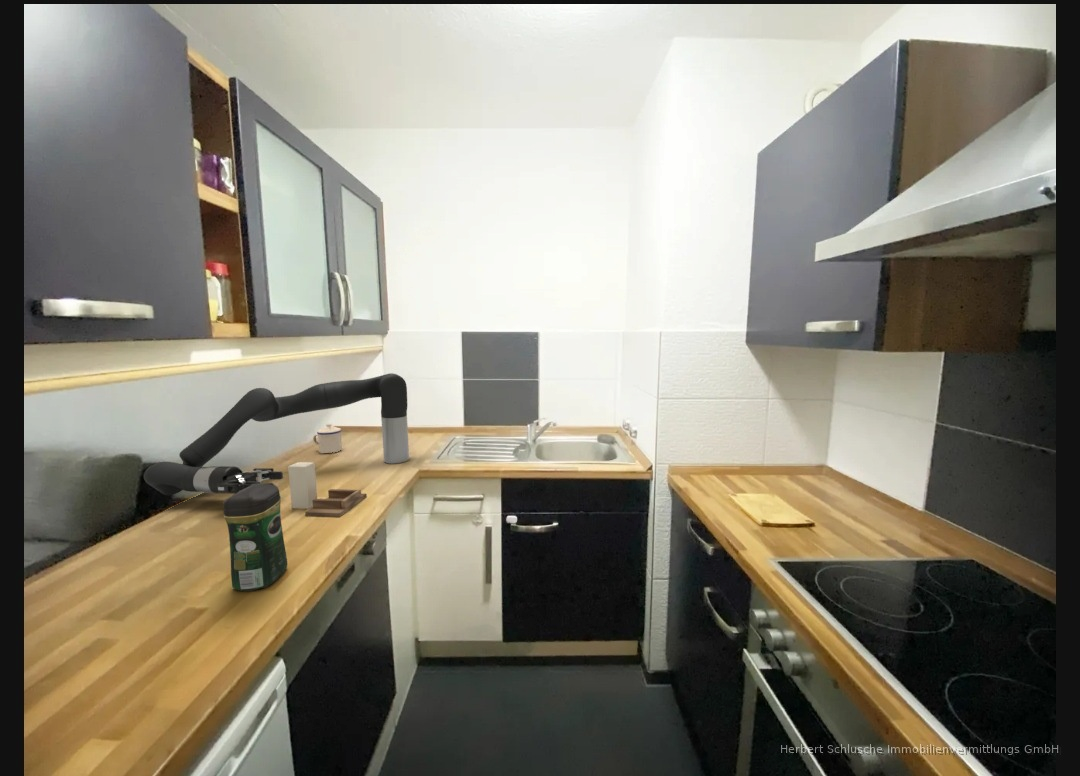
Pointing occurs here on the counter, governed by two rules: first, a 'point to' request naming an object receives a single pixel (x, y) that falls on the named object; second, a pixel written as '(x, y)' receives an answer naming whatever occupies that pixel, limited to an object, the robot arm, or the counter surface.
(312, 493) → the white rectangular block
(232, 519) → the coffee jar
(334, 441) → the teacup with lid
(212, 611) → the counter surface
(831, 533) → the counter surface
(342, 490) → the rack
